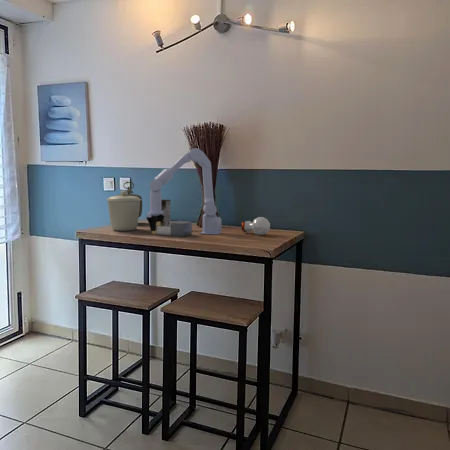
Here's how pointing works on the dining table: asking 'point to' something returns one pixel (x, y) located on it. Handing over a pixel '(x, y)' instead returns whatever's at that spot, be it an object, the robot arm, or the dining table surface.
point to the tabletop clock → (133, 195)
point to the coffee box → (165, 211)
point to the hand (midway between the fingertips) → (155, 230)
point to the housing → (181, 228)
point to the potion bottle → (257, 226)
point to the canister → (124, 212)
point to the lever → (162, 229)
